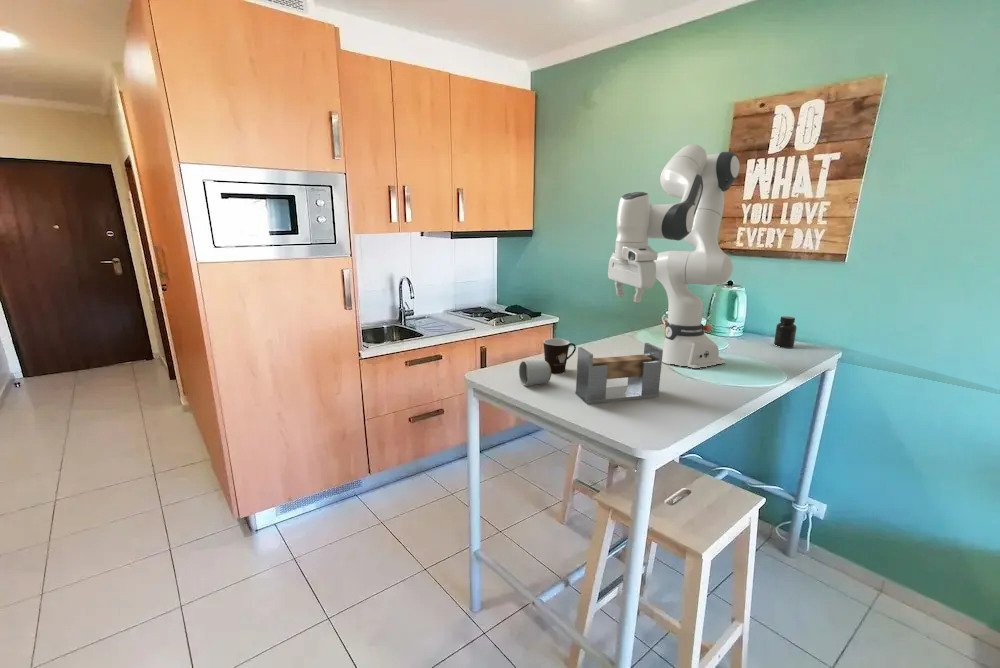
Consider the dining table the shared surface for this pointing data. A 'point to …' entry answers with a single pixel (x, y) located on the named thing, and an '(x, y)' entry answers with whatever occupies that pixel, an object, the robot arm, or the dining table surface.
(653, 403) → the dining table surface
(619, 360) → the rail
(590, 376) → the bracket pair
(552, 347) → the coffee mug
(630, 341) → the dining table surface
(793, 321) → the supplement bottle
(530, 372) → the ceramic mug
